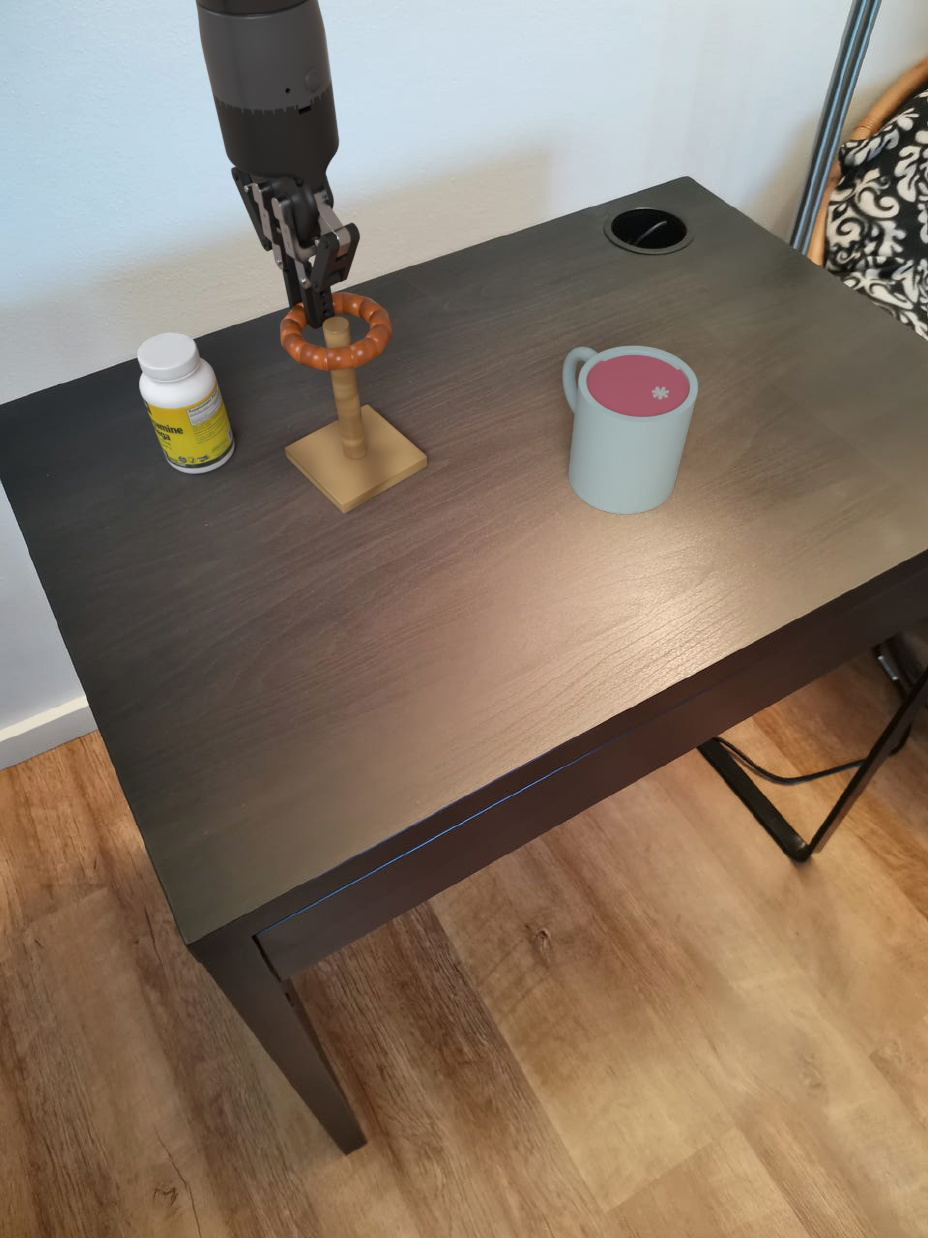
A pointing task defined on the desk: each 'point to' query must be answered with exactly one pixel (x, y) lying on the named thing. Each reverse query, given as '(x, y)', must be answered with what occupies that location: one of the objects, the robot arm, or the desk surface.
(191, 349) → the pill bottle
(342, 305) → the ring
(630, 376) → the mug
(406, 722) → the desk surface
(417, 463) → the stand
